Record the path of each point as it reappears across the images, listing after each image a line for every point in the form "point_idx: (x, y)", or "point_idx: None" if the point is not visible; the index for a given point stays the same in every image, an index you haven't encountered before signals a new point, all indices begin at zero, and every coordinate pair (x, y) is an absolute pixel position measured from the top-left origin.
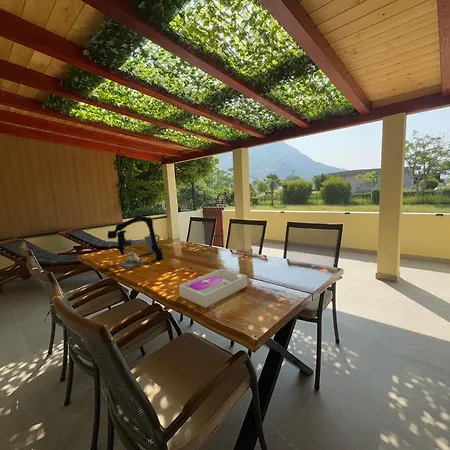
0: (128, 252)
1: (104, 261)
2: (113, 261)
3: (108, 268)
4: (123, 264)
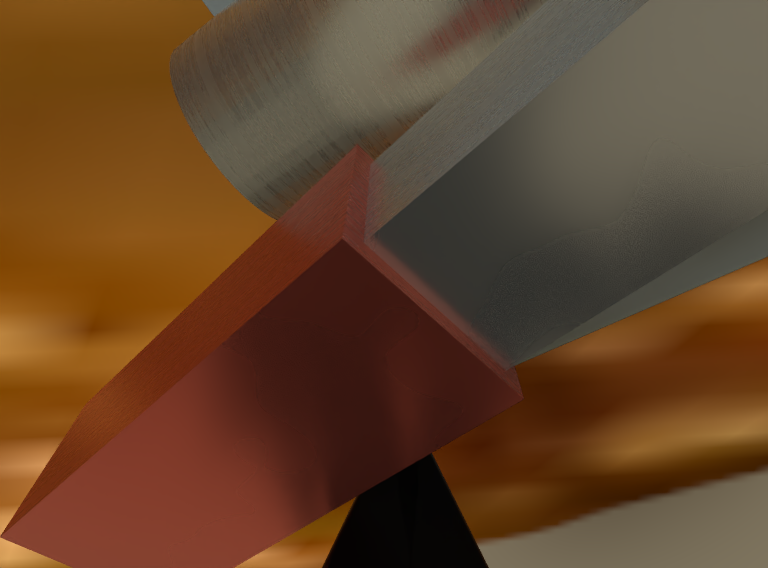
0: (627, 244)
1: (17, 551)
2: (59, 439)
3: (604, 479)
4: (734, 245)
